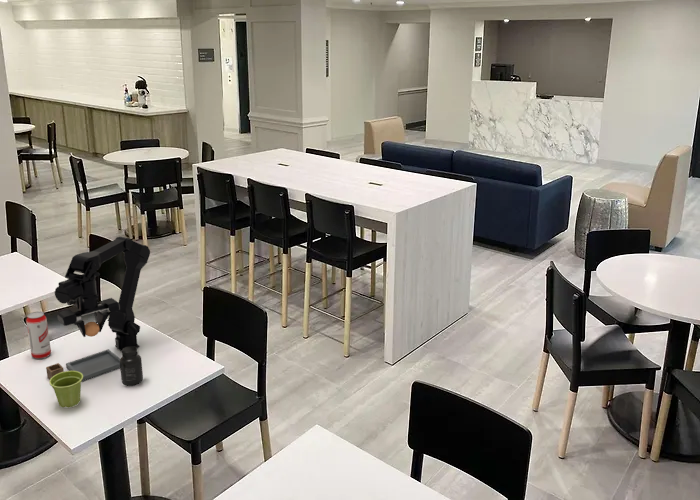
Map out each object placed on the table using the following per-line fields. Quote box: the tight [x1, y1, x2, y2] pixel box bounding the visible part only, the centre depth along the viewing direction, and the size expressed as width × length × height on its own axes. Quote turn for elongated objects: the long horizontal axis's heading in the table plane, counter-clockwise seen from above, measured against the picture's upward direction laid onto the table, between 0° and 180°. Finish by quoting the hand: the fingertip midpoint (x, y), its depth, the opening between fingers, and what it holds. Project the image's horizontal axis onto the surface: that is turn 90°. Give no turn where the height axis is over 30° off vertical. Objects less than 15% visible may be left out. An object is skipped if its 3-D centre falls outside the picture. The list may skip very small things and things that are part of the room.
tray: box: [65, 348, 121, 383], centre depth 207 cm, size 15×12×2 cm
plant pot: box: [48, 370, 83, 409], centre depth 186 cm, size 9×9×9 cm
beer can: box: [25, 311, 52, 360], centre depth 211 cm, size 6×6×16 cm
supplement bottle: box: [119, 346, 144, 387], centre depth 198 cm, size 7×7×12 cm
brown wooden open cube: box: [45, 362, 65, 381], centre depth 200 cm, size 4×4×4 cm
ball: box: [84, 321, 100, 337], centre depth 203 cm, size 5×5×5 cm
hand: (92, 334), depth 203 cm, fingers closed on ball, 5 cm apart
